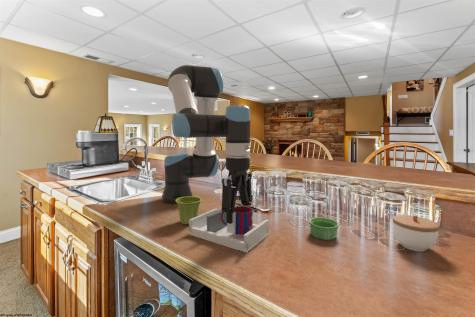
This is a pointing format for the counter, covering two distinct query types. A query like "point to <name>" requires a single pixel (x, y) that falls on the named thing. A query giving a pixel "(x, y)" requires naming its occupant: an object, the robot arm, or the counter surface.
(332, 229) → the ramekin
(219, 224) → the panel
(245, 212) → the mug
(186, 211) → the plant pot
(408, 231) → the lidded jar
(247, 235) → the tray
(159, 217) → the counter surface
